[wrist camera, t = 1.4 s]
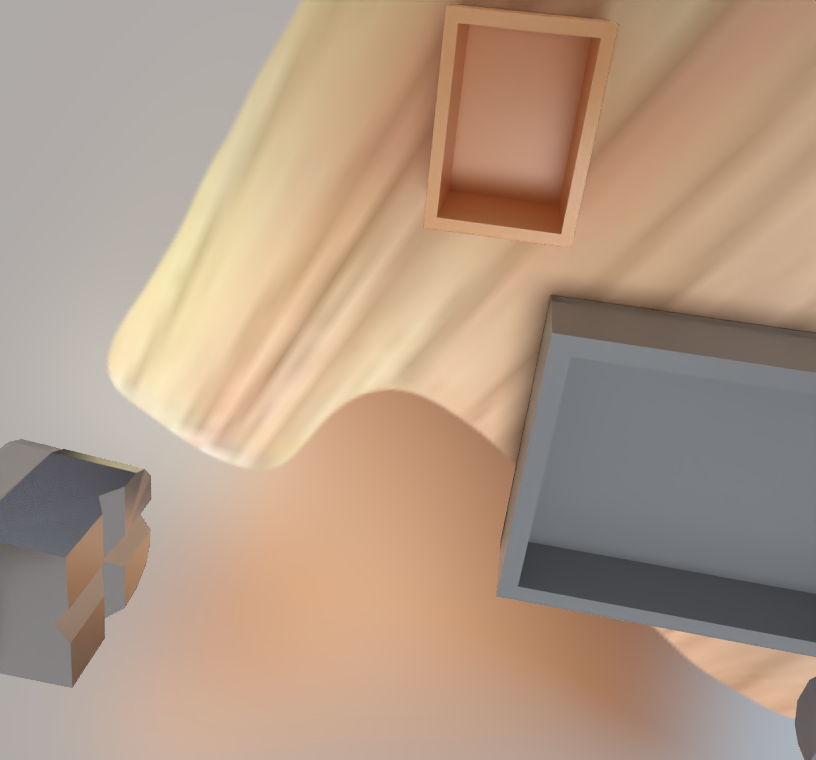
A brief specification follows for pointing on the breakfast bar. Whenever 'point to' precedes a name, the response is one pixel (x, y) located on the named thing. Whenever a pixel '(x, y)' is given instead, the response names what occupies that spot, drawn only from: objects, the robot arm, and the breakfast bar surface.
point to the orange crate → (515, 122)
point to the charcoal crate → (669, 475)
